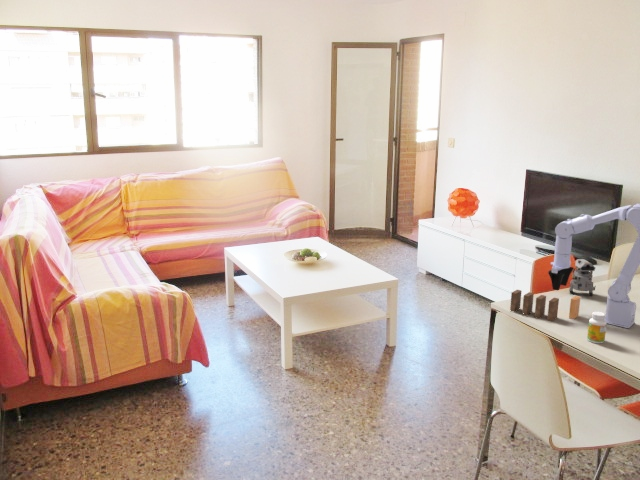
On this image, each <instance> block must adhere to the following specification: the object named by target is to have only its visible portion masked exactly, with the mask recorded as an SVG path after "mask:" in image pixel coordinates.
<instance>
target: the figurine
mask: <svg viewBox="0 0 640 480" xmlns="http://www.w3.org/2000/svg"><path fill="white" fill-rule="evenodd" d="M574 262H575V264H574V267H575V268H574V267H573V268H574V269H573V271H572V273H571V280H570V285H569V289H568V291H569V294H570V293H571V294H573V293H574V290H575V291H579V292H588V295H589V297H593V296H594V291H596V285H595V286H594V281H593V272H595V270H596V267H595V265H594V264H593V262H589V261H588V260H586V259H585V258H578V259H576V260H575V261H574Z"/></svg>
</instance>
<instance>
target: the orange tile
mask: <svg viewBox="0 0 640 480" xmlns="http://www.w3.org/2000/svg"><path fill="white" fill-rule="evenodd" d="M580 303H581V296H579V295H575V296H573V297H572V298H571V299H570V305H569V313H568V319H571V320H575V319H576V318H578V317H579V313H580Z"/></svg>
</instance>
